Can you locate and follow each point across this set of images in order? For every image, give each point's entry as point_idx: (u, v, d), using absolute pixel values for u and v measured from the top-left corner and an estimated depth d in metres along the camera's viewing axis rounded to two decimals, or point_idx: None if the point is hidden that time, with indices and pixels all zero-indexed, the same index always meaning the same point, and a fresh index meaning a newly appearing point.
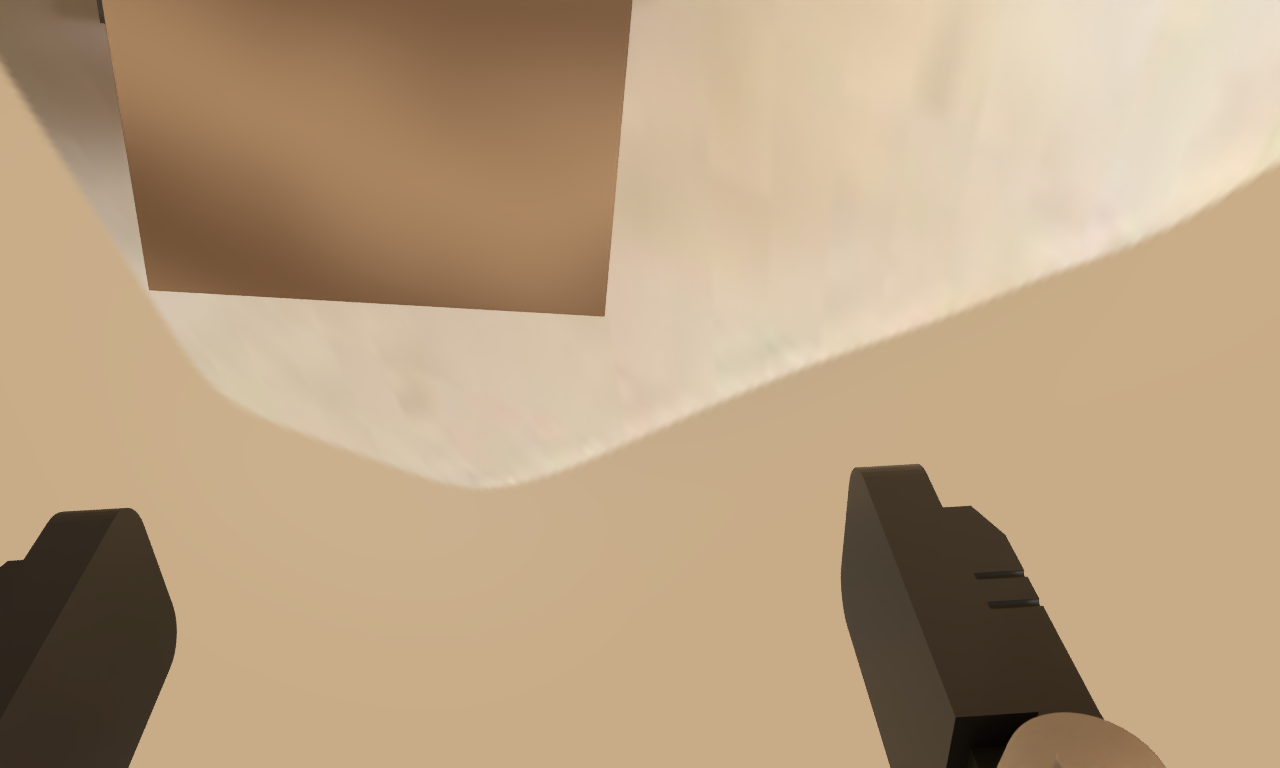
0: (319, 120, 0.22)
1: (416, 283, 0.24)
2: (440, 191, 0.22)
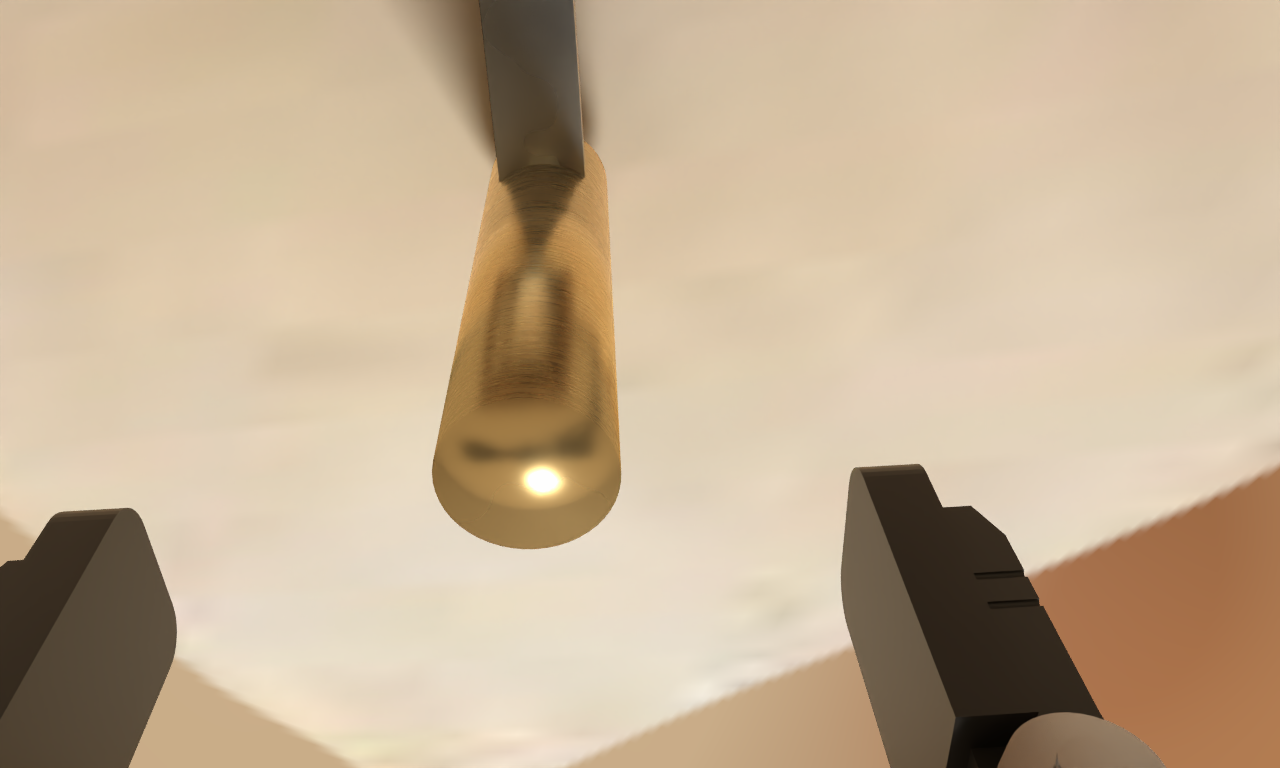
0: None
1: None
2: None
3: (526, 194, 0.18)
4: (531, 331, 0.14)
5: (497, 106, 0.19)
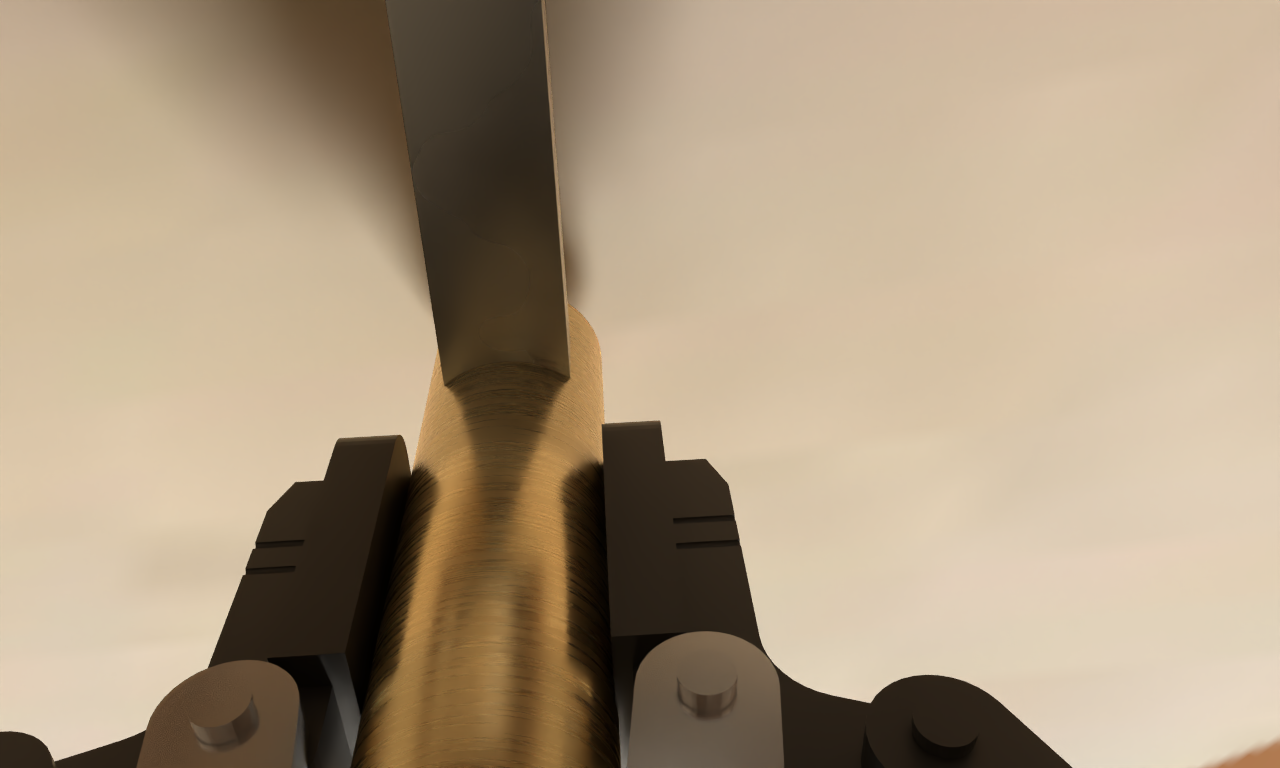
0: None
1: None
2: None
3: (482, 426, 0.12)
4: None
5: (438, 284, 0.13)
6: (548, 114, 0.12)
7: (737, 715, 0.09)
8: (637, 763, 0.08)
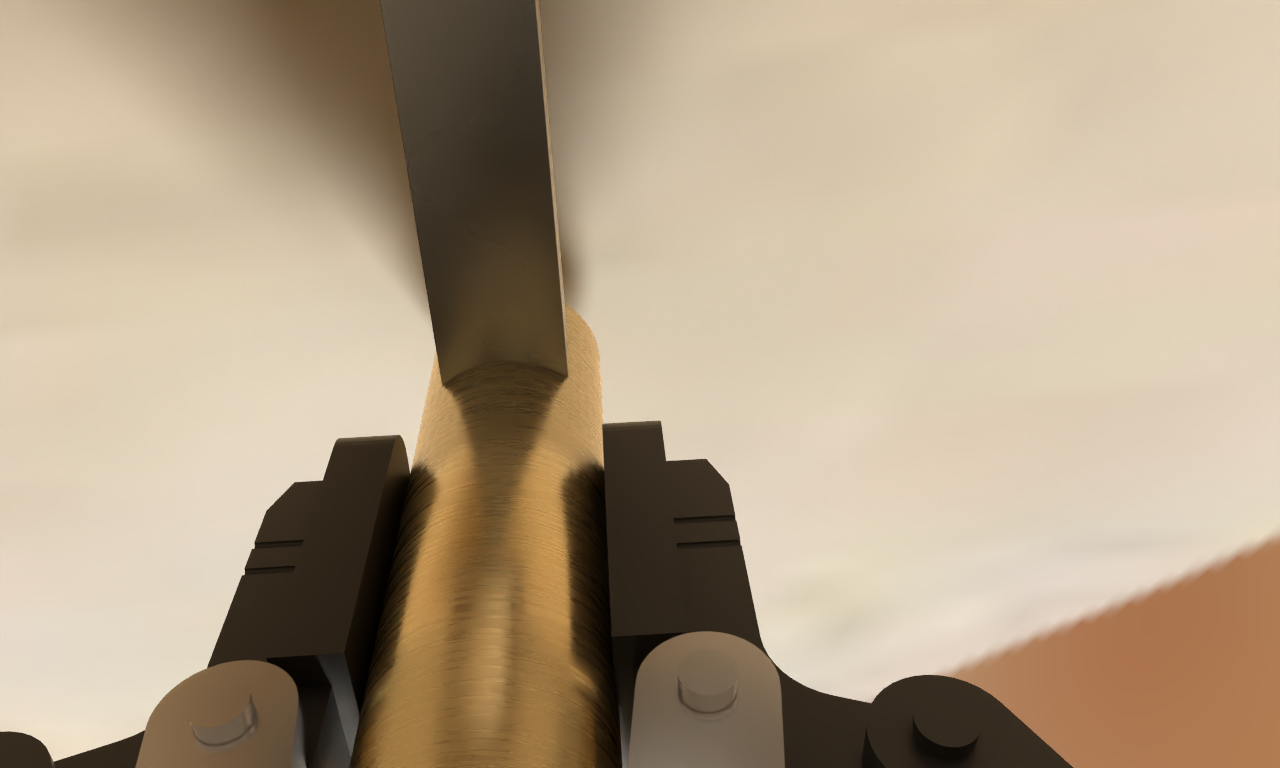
0: None
1: None
2: None
3: (480, 426, 0.12)
4: None
5: (435, 284, 0.13)
6: (543, 112, 0.12)
7: (738, 715, 0.09)
8: (638, 763, 0.08)
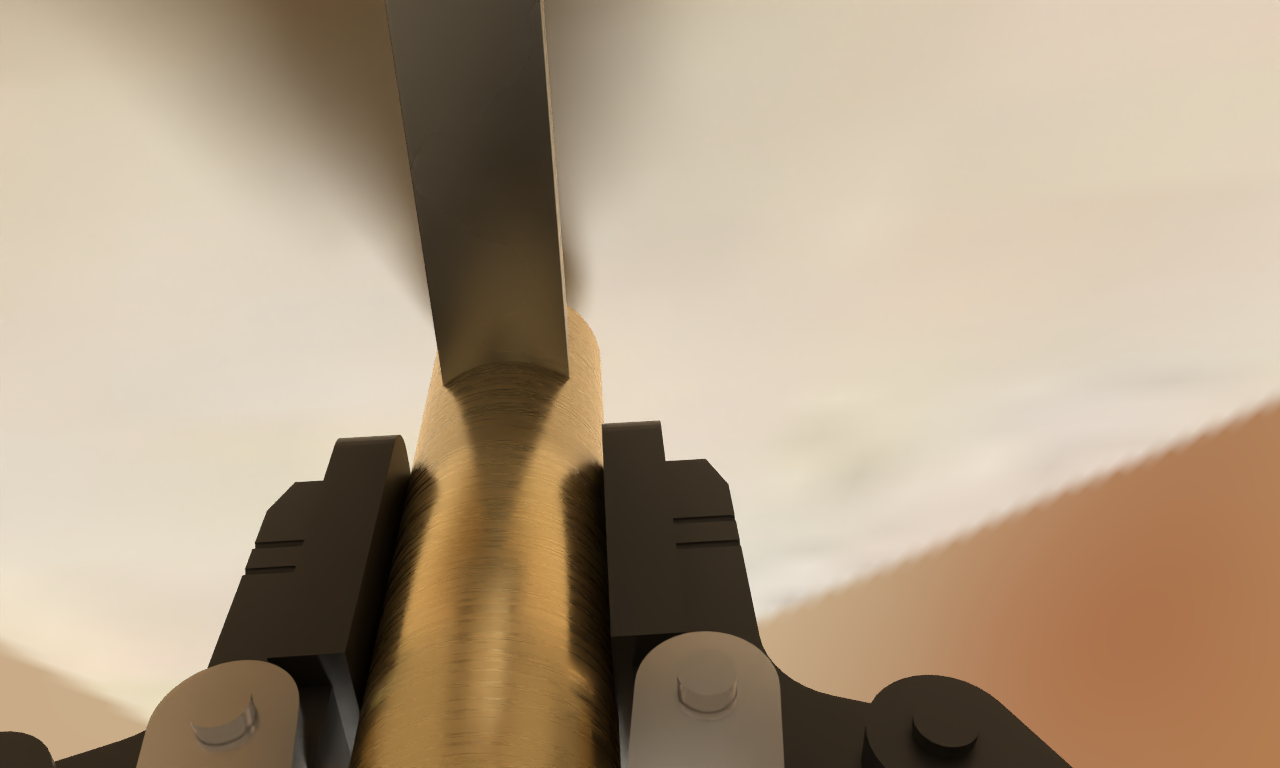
0: None
1: None
2: None
3: (480, 426, 0.12)
4: None
5: (437, 284, 0.13)
6: (547, 114, 0.12)
7: (737, 715, 0.09)
8: (637, 763, 0.08)
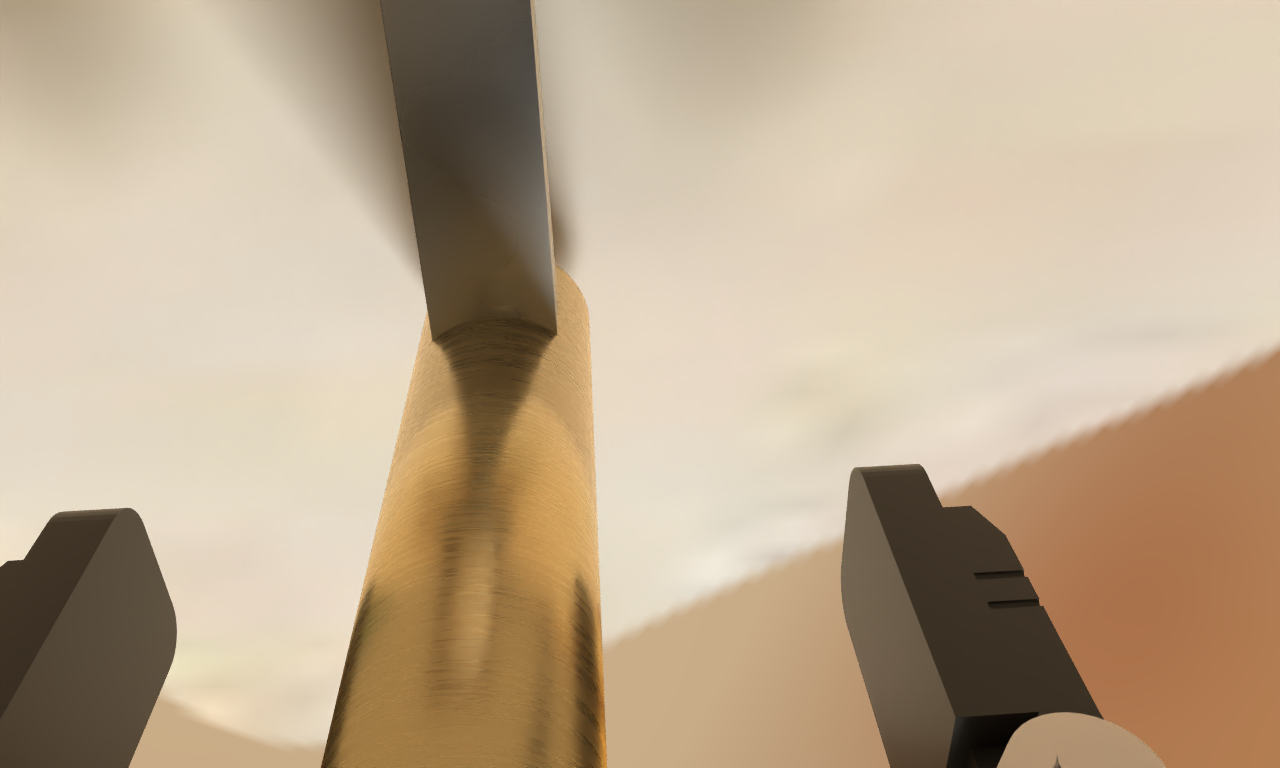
0: None
1: None
2: None
3: (468, 377, 0.12)
4: (455, 712, 0.08)
5: (426, 238, 0.13)
6: (534, 67, 0.12)
7: None
8: None
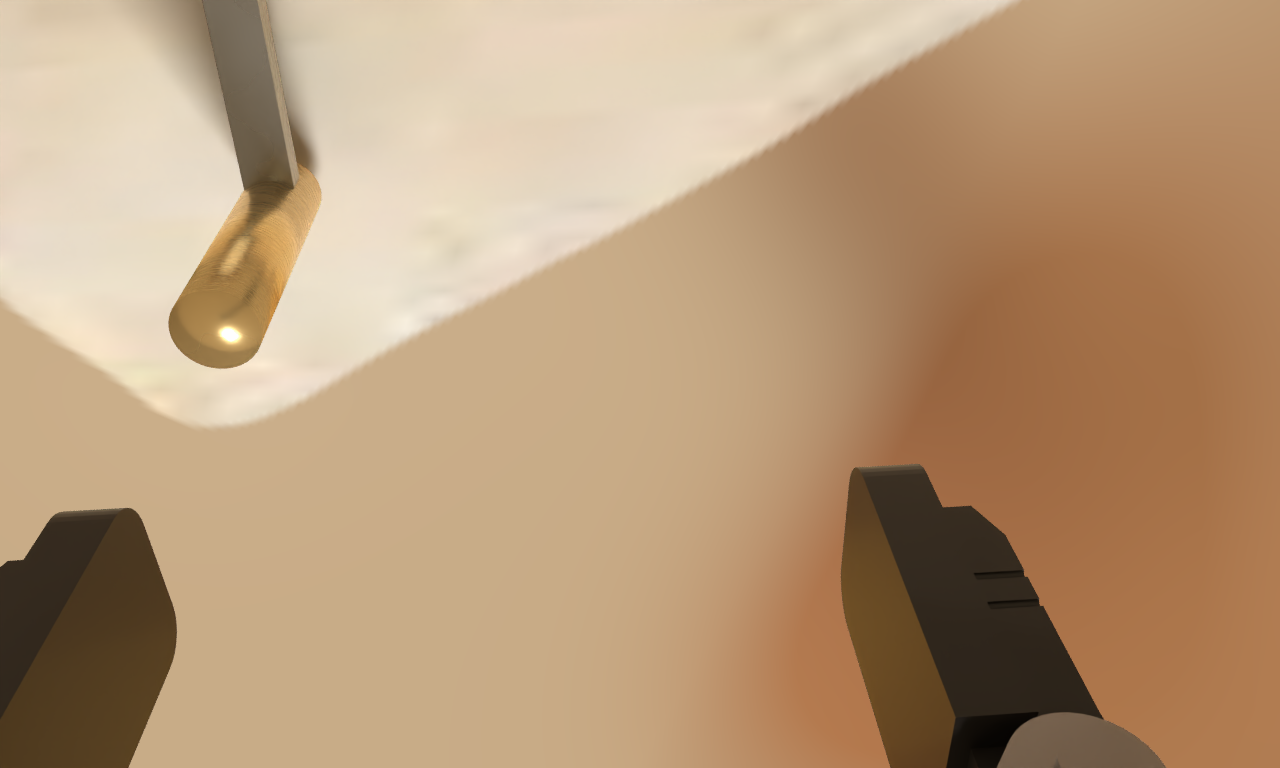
0: None
1: None
2: None
3: (252, 197, 0.34)
4: (223, 263, 0.29)
5: (238, 148, 0.34)
6: (273, 84, 0.33)
7: None
8: None
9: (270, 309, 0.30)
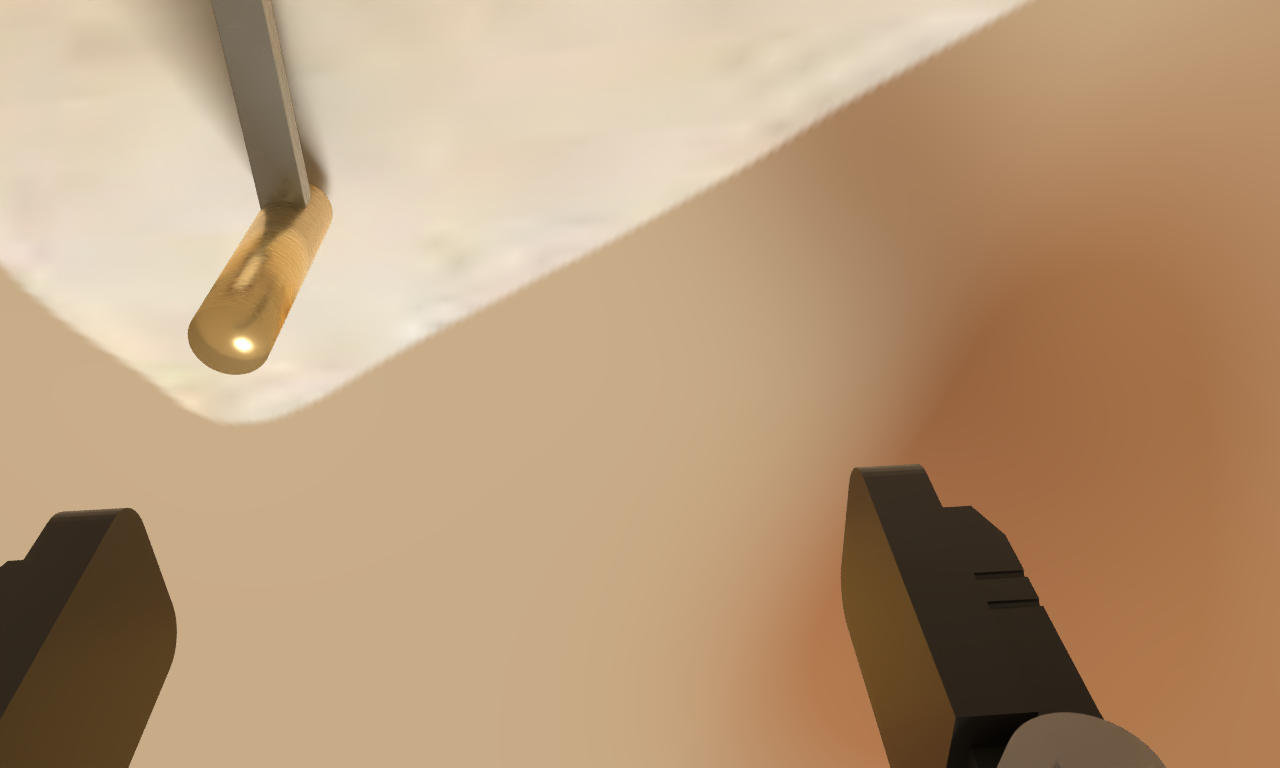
0: None
1: None
2: None
3: (266, 217, 0.37)
4: (237, 280, 0.33)
5: (255, 172, 0.38)
6: (285, 114, 0.37)
7: None
8: None
9: (279, 321, 0.33)
